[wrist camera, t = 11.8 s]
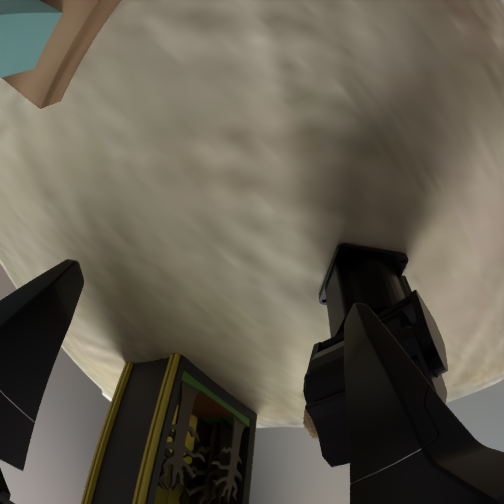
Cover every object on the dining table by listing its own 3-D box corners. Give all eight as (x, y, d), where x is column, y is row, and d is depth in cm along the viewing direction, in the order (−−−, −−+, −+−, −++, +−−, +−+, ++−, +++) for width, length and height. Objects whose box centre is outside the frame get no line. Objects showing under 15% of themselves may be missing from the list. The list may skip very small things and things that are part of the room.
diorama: (258, 415, 44) (242, 580, 20) (206, 420, 48) (183, 566, 24) (179, 352, 34) (127, 587, 10) (124, 362, 38) (69, 551, 14)
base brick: (121, -1, 13) (102, -5, 11) (60, 101, 17) (40, 108, 15) (50, -34, 9) (31, -36, 7) (3, 57, 14) (-17, 62, 12)
